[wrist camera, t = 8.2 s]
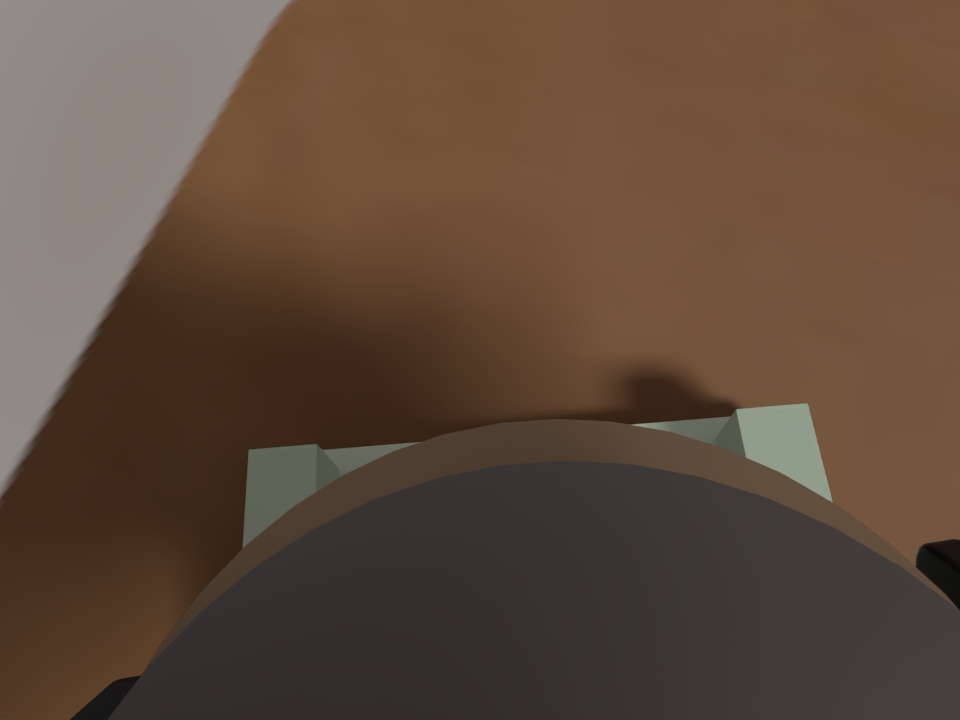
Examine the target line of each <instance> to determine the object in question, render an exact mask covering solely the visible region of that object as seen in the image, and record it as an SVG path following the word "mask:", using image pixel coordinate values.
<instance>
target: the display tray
mask: <svg viewBox="0 0 960 720" xmlns="http://www.w3.org/2000/svg"><path fill="white" fill-rule="evenodd" d="M633 425H634V426H640V427H646V428H652V429H657V430H663V431H669V432H672V433H675V434H679V435H682V436H685V437H689V438H692V439H695V440H699V441H702V442H705V443H709V444H712V445H715V446H719V447H722V448H725V449H727V450H730V451H732V452H734V453H737V454H739V455H741V456H744V457H746V458H748V459H751V460H753V461H755V462H757V463H760V464H762V465H764V466H767V467H769V468H771V469H774V470H776V471H778V472H780V473H783V474H784V475H786V476H788V477H789V478H791V479H793V480H795V481H796V482H798V483H800V484H802V485H803V486H805V487H807V488H809V489H810V490H812V491H814V492H815V493H817V494H819V495H821V496H822V497H824V498H826V499H828V500H829V501H831V502H832V498H831V494H830V490H829V486H828V482H827V478H826V474H825V470H824V466H823V462H822V458H821V455H820V451H819V447H818V443H817V439H816V435H815V431H814V427H813V423H812V419H811V415H810V411H809V407H808V403H807V404H795V405H783V406H771V407H759V408H746V409H736V410H735V411H734V413H733V414H732V416H730V417H718V418H706V419H694V420H682V421H669V422H657V423H645V424H633ZM416 443H419V442H414V443H402V444H390V445H378V446H366V447H353V448H341V449H329V450H322V449H321V448H320V447H319V446H318V445H317V444H310V445H298V446H286V447H274V448H262V449H250V450H249V453H248V469H247V485H246V501H245V517H244V534H243V548H244V547H245V546H246V545H247V544H248V543H249V542H250V541H252V540H253V539H254V538H255V537H257V536H258V535H259V534H260V533H261V532H263V531H264V530H265V529H266V528H268V527H269V526H270V525H271V524H272V523H274V522H275V521H276V520H277V519H279V518H280V517H281V516H282V515H283V514H285V513H286V512H287V511H288V510H290V509H291V508H292V507H293V506H295V505H297V504H298V503H300V502H301V501H303V500H304V499H306V498H308V497H309V496H311V495H312V494H314V493H315V492H317V491H319V490H320V489H322V488H323V487H325V486H326V485H328V484H330V483H331V482H333V481H334V480H336V479H337V478H339V477H341V476H342V475H344V474H347V473H349V472H351V471H353V470H355V469H357V468H359V467H361V466H363V465H365V464H367V463H370V462H372V461H374V460H376V459H378V458H380V457H382V456H384V455H386V454H388V453H390V452H393V451H396V450H399V449H401V448H404V447H407V446H410V445H413V444H416Z"/></svg>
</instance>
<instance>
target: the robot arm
mask: <svg viewBox="0 0 960 720" xmlns="http://www.w3.org/2000/svg"><path fill="white" fill-rule="evenodd" d="M916 568H917V569H918V570H920V571H921V572H922V573H923V574H924V575H925V576H926V577H927V578H928V579H929V580H930V581H932V582H933V583H934V584H935V585H936V586H937V587H938V588H939V589H940V590H941V591H942V592H944V593H945V594H946V596H947V597H948V598H949V599H950V600H951V601H952V602H953V603H954V605H955V606H956V607H957V608H958V609H959V610H960V540H956V539H951V540H944V541H938V542H932V543H927V544H924V545H922V546H921V547H920V548H919V550H918V552H917V556H916ZM140 677H141V675H140V676H135V677H129V678H123V679H119V680H116V681H114V682H112V683H111V684H110V685H109V686H107V687H106V688H105V689H104V690H103V691H102V692H101V693H100V694H98V695H97V696H96V697H95V698H94V699H93V700H92V701H90V702H89V703H88V704H87V705H86V706H85V707H84V708H83V709H81V710H80V711H79V712H78V713H77V714H76V715H75V716H73V717H72V718H71V719H70V720H107V719H108V718H109V717H110V716H111V714H112V713H113V712H114V710H115V709H116V708H117V706H118V705H119V704H120V703H121V701H122V700H123V699H124V697H125V696H126V695H127V693H128V692H129V691H130V690H131V688H132V687H133V686H134V684H135V683H136V682H137V681H138V679H139V678H140Z"/></svg>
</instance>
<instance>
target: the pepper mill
mask: <svg viewBox="0 0 960 720" xmlns="http://www.w3.org/2000/svg"><path fill="white" fill-rule="evenodd" d="M107 720H960V610H959V609H958V608H957V607H956V606H955V605H954V603H953V602H952V601H951V600H950V599H949V598H948V597H947V596H946V594H945V593H944V592H942V591H941V590H940V589H939V588H938V587H937V586H936V585H935V584H934V583H933V582H932V581H930V580H929V579H928V578H927V577H926V576H925V575H924V574H923V573H922V572H921V571H920V570H918V569H917V568H916V567H915V566H914V565H913V564H912V563H911V562H910V561H909V560H908V559H906V558H905V557H904V556H903V555H902V554H901V553H900V552H899V551H898V550H897V549H896V548H894V547H893V546H892V545H891V544H890V543H888V542H887V541H885V540H884V539H883V538H881V537H880V536H879V535H877V534H876V533H875V532H873V531H872V530H871V529H869V528H868V527H866V526H865V525H864V524H862V523H861V522H860V521H858V520H857V519H856V518H854V517H853V516H852V515H850V514H849V513H847V512H846V511H845V510H843V509H842V508H841V507H839V506H838V505H836V504H835V503H833V502H831V501H829V500H828V499H826V498H824V497H822V496H821V495H819V494H817V493H815V492H814V491H812V490H810V489H809V488H807V487H805V486H803V485H802V484H800V483H798V482H796V481H795V480H793V479H791V478H789V477H788V476H786V475H784V474H783V473H780V472H778V471H776V470H774V469H771V468H769V467H767V466H764V465H762V464H760V463H757V462H755V461H753V460H751V459H748V458H746V457H744V456H741V455H739V454H737V453H734V452H732V451H730V450H727V449H725V448H722V447H719V446H715V445H712V444H709V443H705V442H702V441H699V440H695V439H692V438H689V437H685V436H682V435H679V434H675V433H672V432H669V431H663V430H657V429H652V428H646V427H640V426H634V425H629V424H623V423H617V422H611V421H591V420H571V419H544V420H531V421H518V422H504V423H496V424H491V425H486V426H482V427H477V428H472V429H467V430H462V431H457V432H452V433H447V434H443V435H440V436H437V437H434V438H431V439H428V440H425V441H422V442H419V443H416V444H413V445H410V446H407V447H404V448H401V449H399V450H396V451H393V452H390V453H388V454H386V455H384V456H382V457H380V458H378V459H376V460H374V461H372V462H370V463H367V464H365V465H363V466H361V467H359V468H357V469H355V470H353V471H351V472H349V473H347V474H344V475H342V476H341V477H339V478H337V479H336V480H334V481H333V482H331V483H330V484H328V485H326V486H325V487H323V488H322V489H320V490H319V491H317V492H315V493H314V494H312V495H311V496H309V497H308V498H306V499H304V500H303V501H301V502H300V503H298V504H297V505H295V506H293V507H292V508H291V509H290V510H288V511H287V512H286V513H285V514H283V515H282V516H281V517H280V518H279V519H277V520H276V521H275V522H274V523H272V524H271V525H270V526H269V527H268V528H266V529H265V530H264V531H263V532H261V533H260V534H259V535H258V536H257V537H255V538H254V539H253V540H252V541H250V542H249V543H248V544H247V545H246V546H245V547H244V548H243V549H242V550H241V551H240V552H239V553H238V554H237V555H236V556H235V557H234V558H233V559H232V560H231V561H230V562H229V563H228V564H227V565H226V566H225V567H224V568H223V569H222V570H221V571H220V572H219V573H218V574H217V575H216V576H215V578H214V579H213V580H212V581H211V582H210V583H209V584H208V585H207V586H206V587H205V588H204V589H203V590H202V591H201V592H200V594H199V595H198V596H197V598H196V599H195V600H194V601H193V603H192V604H191V605H190V607H189V608H188V609H187V611H186V612H185V613H184V614H183V616H182V617H181V618H180V620H179V621H178V622H177V623H176V625H175V626H174V627H173V629H172V630H171V631H170V632H169V634H168V635H167V636H166V638H165V639H164V640H163V642H162V643H161V645H160V646H159V648H158V650H157V651H156V653H155V654H154V656H153V658H152V659H151V661H150V663H149V664H148V666H147V668H146V669H145V671H144V672H143V674H142V675H141V677H140V678H139V679H138V681H137V682H136V683H135V684H134V686H133V687H132V688H131V690H130V691H129V692H128V693H127V695H126V696H125V697H124V699H123V700H122V701H121V703H120V704H119V705H118V706H117V708H116V709H115V710H114V712H113V713H112V714H111V716H110V717H109V718H108V719H107Z"/></svg>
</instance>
